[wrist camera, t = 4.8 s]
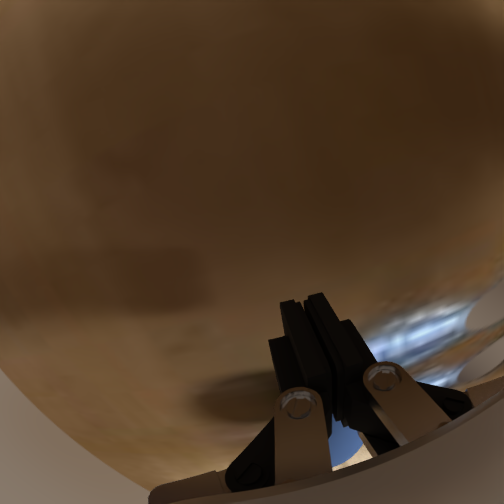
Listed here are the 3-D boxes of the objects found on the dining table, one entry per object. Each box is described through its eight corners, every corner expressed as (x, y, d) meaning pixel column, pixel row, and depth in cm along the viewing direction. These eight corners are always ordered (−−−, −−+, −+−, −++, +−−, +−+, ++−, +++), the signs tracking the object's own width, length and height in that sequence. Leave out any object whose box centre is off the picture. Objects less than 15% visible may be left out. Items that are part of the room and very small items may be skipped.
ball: (261, 373, 18) (274, 455, 12) (353, 350, 18) (389, 423, 12) (274, 423, 20) (286, 490, 15) (350, 403, 20) (375, 466, 15)
